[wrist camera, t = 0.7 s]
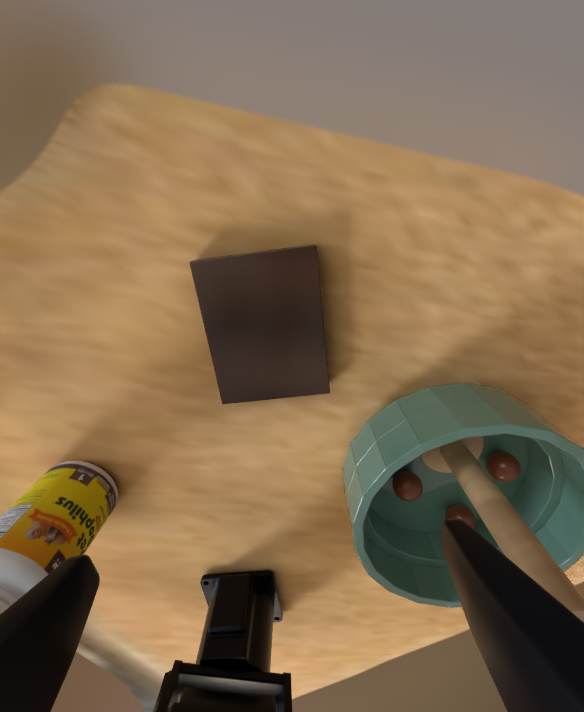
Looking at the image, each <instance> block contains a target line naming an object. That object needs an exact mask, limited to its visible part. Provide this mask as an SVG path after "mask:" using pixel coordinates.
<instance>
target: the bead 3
mask: <svg viewBox="0 0 584 712" xmlns="http://www.w3.org/2000/svg"><path fill="white" fill-rule="evenodd" d="M485 465H486V469H487V471H488V473H489V474H490V475H491V476H492V477H493V478H494V479H496V480H498V481H500V482H512V481H514V480H516V479H517V478H518V477H519V475H520V473H521V466H520V463H519V461H518V460H517V458H516V457H515V456H513V455H512V454H510V453H508V452H505V451H495V452H493V453H491V454H490V455H489V456H488V457H487V459H486V462H485Z"/></svg>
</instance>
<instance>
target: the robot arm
mask: <svg viewBox="0 0 584 712" xmlns="http://www.w3.org/2000/svg"><path fill="white" fill-rule="evenodd" d="M442 550H443V554H444V557H445V559H446V562H447V565H448V568H449V571H450V574H451V576H452V579H453V582H454V585H455V588H456V591H457V593H458V596H459V599H460V602H461V605H462V608H463V610H464V613H465V616H466V619H467V622H468V624H469V627H470V629H471V632H472V634H473V636H474V638H475V641H476V643H477V646H478V647H479V650H480V652H481V654H482V657H483V659H484V661H485V663H486V665H487V667H488V670H489V672H490V674H491V676H492V678H493V681H494V682H495V685H496V687H497V689H498V692H499V694H500V696H501V698H502V700H503V702H504V705H505V707H506V709H507V711H508V712H584V622H583V621H582V620H581V619H579V618H578V617H577V616H576V615H575V614H574V613H572V612H571V611H570V610H569V609H568V608H566V607H565V606H564V605H563V604H562V603H560V602H559V601H558V600H557V599H556V598H555V597H553V596H552V595H551V594H550V593H549V592H547V591H546V590H545V589H544V588H543V587H542V586H540V585H539V584H538V583H537V582H536V581H534V580H533V579H532V578H531V577H530V576H528V575H527V574H526V573H525V572H524V571H523V570H521V569H520V568H519V567H518V566H517V565H515V564H514V563H513V562H512V561H511V560H510V559H508V558H507V557H506V556H505V555H504V554H502V553H501V552H500V551H499V550H498V549H497V548H495V547H494V546H493V545H492V544H491V543H489V542H488V541H487V540H486V539H485V538H483V537H482V536H481V535H480V534H479V533H478V532H476V531H475V530H474V529H473V528H472V527H470V526H469V525H468V524H467V523H466V522H465V521H463V520H462V519H459V518H455V519H445V520H443V522H442ZM99 581H100V578H99V574H98V572H97V570H96V568H95V566H94V564H93V563H92V561H91V559H90V557H89V556H87V555H77V556H72V557H69V558H68V559H66V560H65V561H64V562H63V563H62V564H60V565H59V566H58V567H57V568H55V569H54V570H53V571H52V572H51V573H49V574H48V575H47V576H46V577H45V578H43V579H42V580H41V581H40V582H39V583H37V584H36V585H35V586H34V587H33V588H31V589H30V590H29V591H28V592H27V593H25V594H24V595H23V596H22V597H21V598H19V599H18V600H17V601H16V602H14V603H13V604H12V605H11V606H10V607H8V608H7V609H6V610H5V611H4V612H2V613H1V614H0V712H50V711H51V709H52V706H53V704H54V702H55V700H56V697H57V695H58V693H59V691H60V688H61V686H62V684H63V681H64V679H65V677H66V675H67V672H68V670H69V667H70V665H71V662H72V660H73V657H74V655H75V652H76V650H77V647H78V644H79V641H80V638H81V636H82V633H83V630H84V627H85V624H86V621H87V618H88V615H89V613H90V610H91V607H92V604H93V601H94V598H95V595H96V592H97V590H98V586H99ZM201 586H202V589H203V592H204V595H205V598H206V601H207V603H208V606H209V608H208V613H207V617H206V621H205V625H204V630H203V634H202V638H201V643H200V647H199V651H198V655H197V660H196V664H191V663H183V661H180V660H175V662H174V665H173V668H172V671H169V672H167V673H165V676H164V679H163V682H162V686H161V689H160V692H159V696H158V699H157V702H156V705H155V707H154V710H153V712H292V694H291V673H285V672H284V673H283V674H279V673H270V663H271V647H272V631H273V622H280V621H282V618H283V613H282V608H281V603H280V598H279V594H278V589H277V584H276V580H275V575H274V572H272V571H270V570H265V571H250V572H236V573H222V574H207V575H203V576H202V578H201Z"/></svg>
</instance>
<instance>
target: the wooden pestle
mask: <svg viewBox="0 0 584 712" xmlns="http://www.w3.org/2000/svg"><path fill="white" fill-rule="evenodd" d="M483 446H484V441H483V436H476V437H466V438H463V439H460V440H458V441H455V442H452V443H449V444H446V445H443V446H440V447H437V448H435V449H432V450H429V451H426V452H424V453H423V454H421V455H420V456H421V458H422V460H423V461H424V463H425V464H426V465H427V466H428V467H430V468H431V469H433V470H435V471H438V472H443V473H453V474H454V476H455V477H456V479H457V480H458V482H459V484H460V485H461V487H462V488H463V490H464V492H465V493H466V495H467V496H468V498H469V500H470V501H471V503H472V504H473V506H474V507H475V509H476V511H477V512H478V514H479V515H480V517H481V519H482V520H483V522H484V523H485V525H486V527H487V528H488V530H489V531H490V533H491V534H492V536H493V538H494V539H495V541H496V542H497V544H498V546H499V547H500V549H501V550H502V552H503V553H504V555H505V556H506V557H507V558H508V559H510V560H511V561H512V562H513V563H514V564H515V565H517V566H518V567H519V568H520V569H521V570H523V571H524V572H525V573H526V574H527V575H528V576H530V577H531V578H532V579H533V580H534V581H536V582H537V583H538V584H539V585H540V586H542V587H543V588H544V589H545V590H546V591H547V592H549V593H550V594H551V595H552V596H553V597H555V598H556V599H557V600H558V601H559V602H560V603H562V604H563V605H564V606H565V607H566V608H568V609H569V610H570V611H571V612H572V613H574V614H575V615H576V616H577V617H578V618H579V619H581V620H582V621H583V622H584V598H583V597H582V596H581V594H580V593H579V592H578V590H577V589H576V588H575V586H574V585H573V584H572V583H571V581H570V580H569V579H568V577H567V576H566V575H565V573H564V572H563V571H562V570H561V568H560V567H559V566H558V564H557V563H556V562H555V560H554V559H553V558H552V557H551V555H550V554H549V553H548V551H547V550H546V549H545V547H544V546H543V545H542V544H541V542H540V541H539V540H538V538H537V537H536V536H535V534H534V533H533V532H532V531H531V529H530V528H529V527H528V525H527V524H526V523H525V521H524V520H523V519H522V518H521V516H520V515H519V514H518V512H517V511H516V510H515V509H514V507H513V506H512V505H511V503H510V502H509V501H508V499H507V498H506V497H505V496H504V494H503V493H502V492H501V490H500V489H499V488H498V486H497V485H496V484H495V483H494V481H493V480H492V479H491V477H490V476H489V475H488V473H487V472H486V471H485V470H484V468H483V467H482V466H481V464H480V463H479V462H478V460H477V459H478V458H479V456H480V455H481V453H482V450H483Z"/></svg>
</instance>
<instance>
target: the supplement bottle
mask: <svg viewBox="0 0 584 712" xmlns="http://www.w3.org/2000/svg"><path fill="white" fill-rule="evenodd" d="M117 499H118V491H117V487H116V485H115V482H114V481H113V479H112V478H111V477H110V476H109V475H108V474H107V473H106V472H105V471H104V470H102V469H101V468H99V467H98V466H96V465H93V464H91V463H88V462H83V461H67V462H63V463H60V464H58V465H56V466H54V467H52V468H51V469H50V470H49V471H48V472H46V473H45V474H44V475H43V476H42V477H41V478H40V479H39V480H38V481H37V482H36V483H35V484H34V485H33V486H32V487H31V488H30V489H29V490H28V491H27V492H26V493H25V494H24V495H22V496H21V498H19V499H18V500H17V501H16V502H15V503H14V504H13V505H12V506H11V507H10V508H9V509H8V510H7V511H6V512H5V513H4V514H3V515H2V516H1V517H0V614H1V613H2V612H4V611H5V610H6V609H7V608H8V607H10V606H11V605H12V604H13V603H14V602H16V601H17V600H18V599H19V598H21V597H22V596H23V595H24V594H25V593H27V592H28V591H29V590H30V589H31V588H33V587H34V586H35V585H36V584H37V583H39V582H40V581H41V580H42V579H43V578H45V577H46V576H47V575H48V574H49V573H51V572H52V571H53V570H54V569H55V568H57V567H58V566H59V565H60V564H62V563H63V562H64V561H65V560H66V559H68V558H69V557H72V556H77V555H84V553H85V552H86V550H87V549H88V547H89V545H90V544H91V542H92V541H93V539H94V538H95V536H96V535H97V533H98V532H99V530H100V529H101V527H102V526H103V524H104V523H105V521H106V520H107V518H108V517H109V515H110V514H111V512H112V511H113V509H114V507H115V505H116V503H117Z"/></svg>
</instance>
